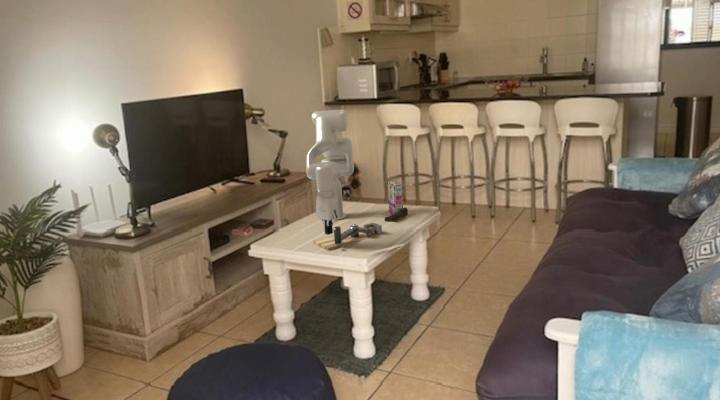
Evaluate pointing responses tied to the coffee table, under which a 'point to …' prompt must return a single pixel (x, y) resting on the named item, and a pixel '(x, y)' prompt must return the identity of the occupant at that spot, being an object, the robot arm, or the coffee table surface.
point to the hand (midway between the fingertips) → (329, 233)
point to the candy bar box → (395, 197)
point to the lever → (350, 232)
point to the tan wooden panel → (348, 238)
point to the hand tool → (397, 215)
